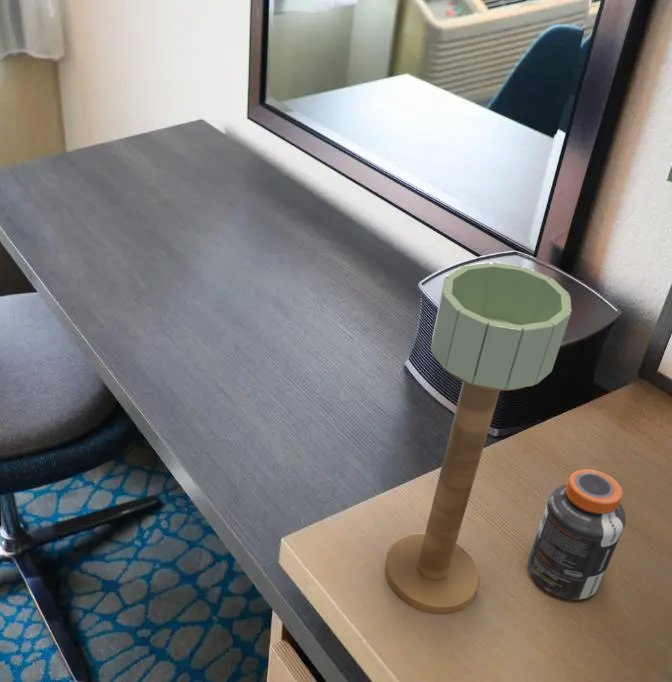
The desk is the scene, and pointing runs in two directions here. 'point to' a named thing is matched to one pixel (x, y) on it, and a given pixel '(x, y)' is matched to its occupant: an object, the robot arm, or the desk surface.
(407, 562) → the stand
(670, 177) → the wood-topped metal bracket
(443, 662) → the desk surface
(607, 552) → the pill bottle
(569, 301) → the bowl
